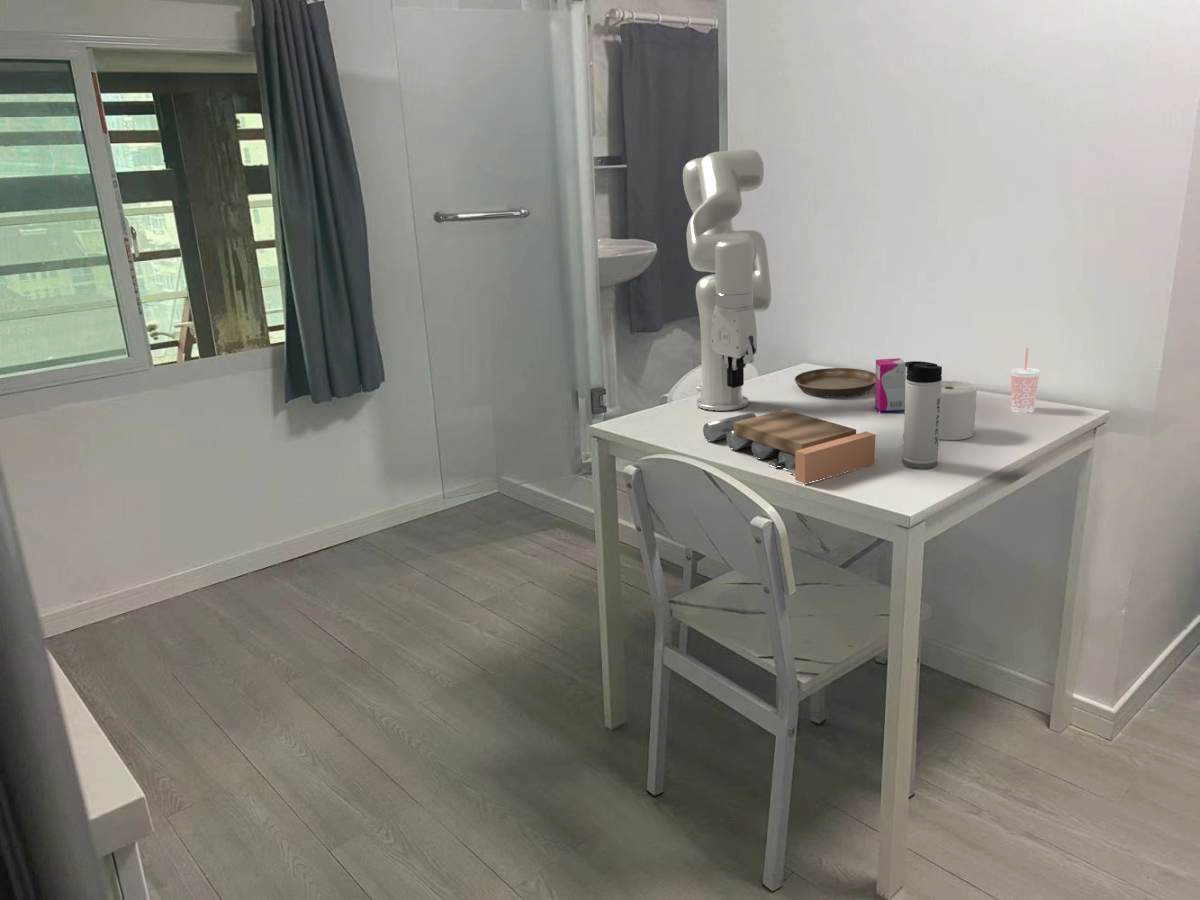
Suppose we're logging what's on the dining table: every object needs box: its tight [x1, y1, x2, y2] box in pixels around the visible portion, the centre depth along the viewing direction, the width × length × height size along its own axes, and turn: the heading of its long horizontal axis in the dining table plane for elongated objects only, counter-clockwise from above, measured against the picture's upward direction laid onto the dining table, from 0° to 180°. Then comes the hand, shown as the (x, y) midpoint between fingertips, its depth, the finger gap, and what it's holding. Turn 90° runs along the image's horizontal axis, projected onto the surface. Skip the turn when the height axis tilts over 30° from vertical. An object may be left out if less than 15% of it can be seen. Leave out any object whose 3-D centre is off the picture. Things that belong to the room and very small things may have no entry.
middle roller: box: [726, 431, 753, 451], centre depth 193 cm, size 4×12×4 cm, turn 121°
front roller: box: [751, 441, 782, 460], centre depth 186 cm, size 4×12×4 cm, turn 121°
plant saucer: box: [793, 367, 876, 398], centre depth 232 cm, size 21×21×3 cm
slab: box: [734, 409, 857, 455], centre depth 183 cm, size 20×14×2 cm
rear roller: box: [702, 412, 758, 442], centre depth 199 cm, size 4×12×4 cm, turn 121°
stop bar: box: [794, 431, 877, 484], centre depth 173 cm, size 2×18×6 cm, turn 121°
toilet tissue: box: [939, 380, 978, 441], centre depth 191 cm, size 11×12×10 cm
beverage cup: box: [1009, 347, 1042, 413], centre depth 203 cm, size 6×6×14 cm
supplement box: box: [874, 357, 907, 414], centre depth 211 cm, size 6×6×12 cm
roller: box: [778, 451, 795, 469], centre depth 179 cm, size 12×4×4 cm, turn 121°
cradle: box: [767, 457, 795, 474], centre depth 180 cm, size 8×14×1 cm, turn 121°
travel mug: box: [902, 360, 943, 470], centre depth 173 cm, size 6×7×20 cm
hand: (735, 385), depth 196 cm, fingers closed
